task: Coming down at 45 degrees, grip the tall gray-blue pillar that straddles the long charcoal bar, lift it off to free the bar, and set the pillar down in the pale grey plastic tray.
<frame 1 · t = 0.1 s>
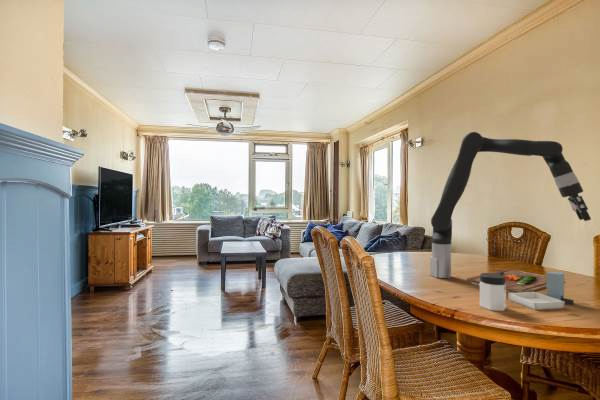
hand: (585, 219, 136), 31 cm above the table, tool tilted 20°, fingers open, 8 cm apart
parts tray: (535, 303, 124), on the table
tall gray-blue pillar: (555, 300, 127), on the table
chopping board: (514, 282, 157), on the table
jar: (492, 307, 120), on the table
long charcoal bar: (555, 300, 127), on the table
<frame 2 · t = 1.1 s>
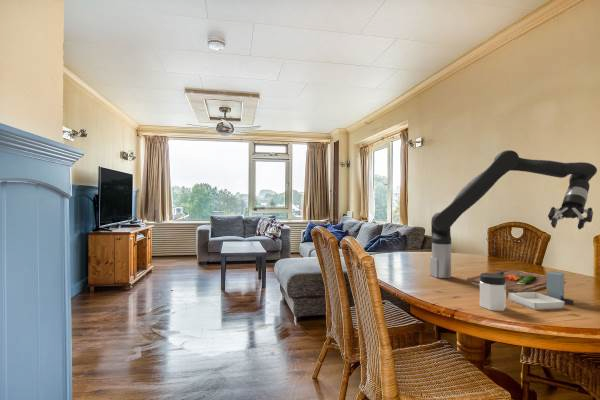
hand: (566, 227, 134), 29 cm above the table, tool tilted 45°, fingers open, 8 cm apart
nothing on the table moved.
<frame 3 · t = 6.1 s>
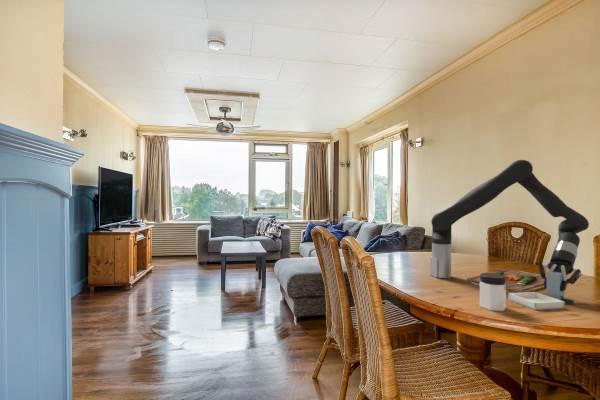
hand: (553, 288, 126), 5 cm above the table, tool tilted 45°, fingers closed on tall gray-blue pillar, 4 cm apart
tall gray-blue pillar: (555, 300, 127), on the table, touching gripper
everything else where it was.
when the fingers open (6 cm above the table, at t = 10.7 s): tall gray-blue pillar stays where it is, resting on parts tray.
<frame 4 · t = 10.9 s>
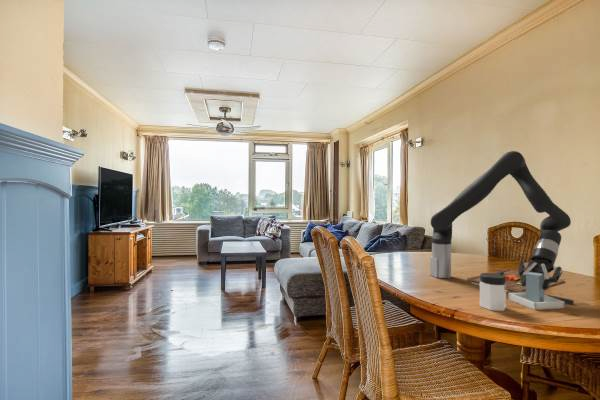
hand: (533, 286, 123), 7 cm above the table, tool tilted 45°, fingers open, 6 cm apart
tall gray-blue pillar: (534, 302, 124), point 1 cm above the table, touching parts tray
everything else where it was.
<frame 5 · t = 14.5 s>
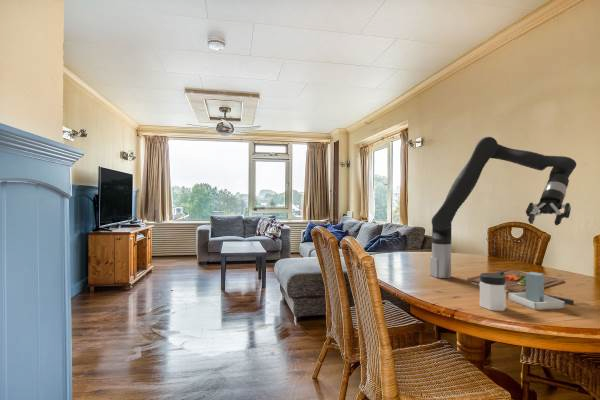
hand: (543, 223, 129), 31 cm above the table, tool tilted 45°, fingers open, 8 cm apart
nothing on the table moved.
at the end: tall gray-blue pillar inside the target area on the parts tray (0.1 cm from its centre), point 0.6 cm above the parts tray's base; tall gray-blue pillar touching parts tray; the gripper is holding nothing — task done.
